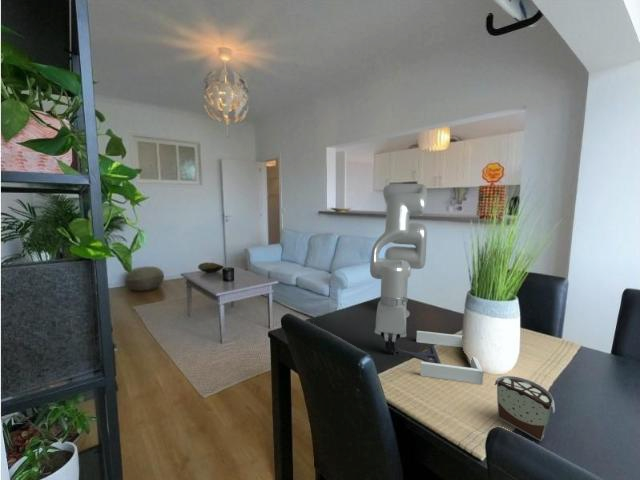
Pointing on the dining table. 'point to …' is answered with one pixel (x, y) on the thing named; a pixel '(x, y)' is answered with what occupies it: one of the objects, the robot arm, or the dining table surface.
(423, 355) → the bracket
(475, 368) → the box
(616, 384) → the dining table surface
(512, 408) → the mint chocolate cake slice
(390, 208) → the robot arm
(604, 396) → the dining table surface
